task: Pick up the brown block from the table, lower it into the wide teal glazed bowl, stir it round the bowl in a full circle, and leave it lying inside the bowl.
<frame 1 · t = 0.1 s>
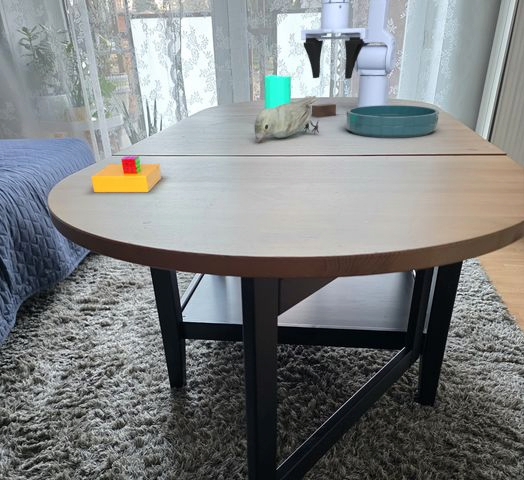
hand: (331, 78, 112), 10 cm above the table, tool pointing down, fingers open, 7 cm apart
bowl: (390, 130, 112), on the table
candle: (277, 127, 120), on the table
brown block: (323, 115, 133), on the table
yellow slab: (129, 186, 76), on the table
decorative bird: (286, 139, 107), on the table
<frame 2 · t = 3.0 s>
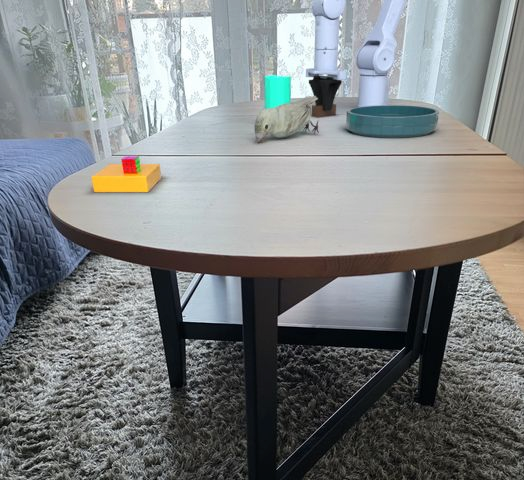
hand: (323, 109, 132), 1 cm above the table, tool pointing down, fingers closed on brown block, 2 cm apart
brown block: (323, 115, 133), on the table, touching gripper
everything else where it was.
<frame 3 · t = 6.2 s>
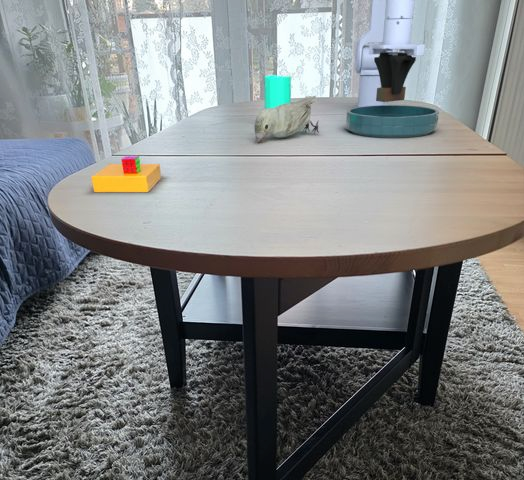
hand: (391, 93, 111), 7 cm above the table, tool pointing down, fingers closed on brown block, 2 cm apart
brown block: (390, 100, 111), point 6 cm above the table, touching gripper
everything else where it was.
when the fingers open (2 cm above the table, at t = 9.3 s): brown block stays where it is, resting on bowl.
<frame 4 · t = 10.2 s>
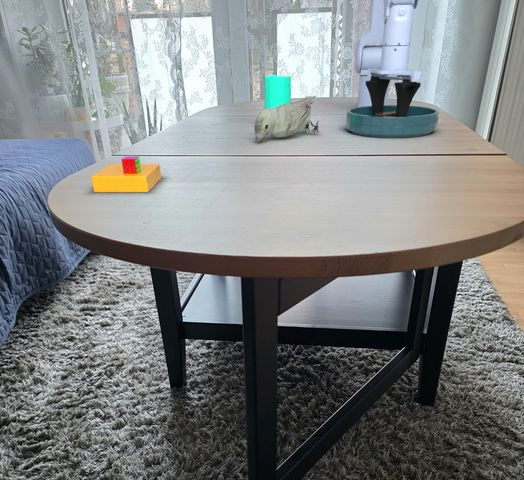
hand: (388, 116, 113), 2 cm above the table, tool pointing down, fingers open, 7 cm apart
brown block: (387, 125, 114), point 1 cm above the table, touching bowl
everything else where it was.
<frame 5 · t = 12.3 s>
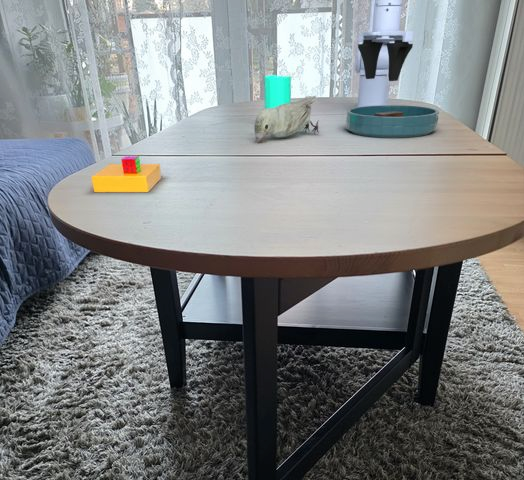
hand: (381, 79, 113), 9 cm above the table, tool pointing down, fingers open, 7 cm apart
nothing on the table moved.
at the end: brown block inside the target area in the bowl (3.3 cm from its centre), point 0.6 cm above the bowl's base; brown block moved 25.2 cm from its start; the gripper is holding nothing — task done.
